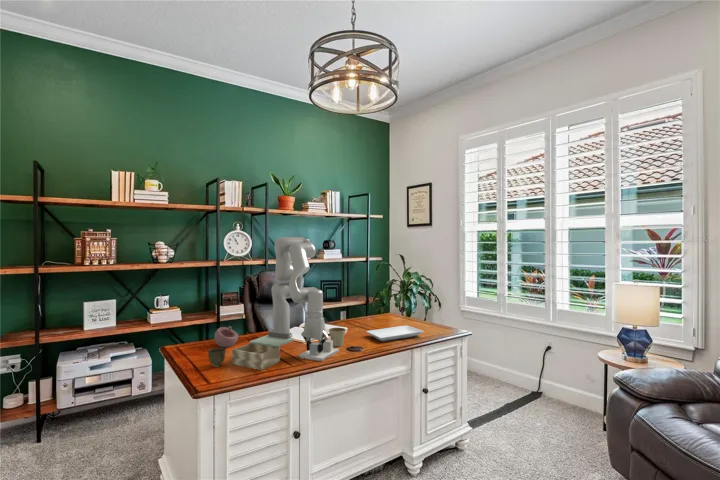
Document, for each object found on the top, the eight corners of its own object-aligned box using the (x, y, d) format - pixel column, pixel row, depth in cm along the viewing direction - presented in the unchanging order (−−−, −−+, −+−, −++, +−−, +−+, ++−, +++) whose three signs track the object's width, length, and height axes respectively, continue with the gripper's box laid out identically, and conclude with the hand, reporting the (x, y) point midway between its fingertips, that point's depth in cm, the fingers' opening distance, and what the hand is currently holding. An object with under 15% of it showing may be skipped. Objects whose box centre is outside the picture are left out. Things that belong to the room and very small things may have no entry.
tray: (424, 336, 221) (424, 330, 222) (380, 343, 206) (380, 337, 206) (407, 330, 236) (407, 325, 236) (365, 336, 221) (365, 330, 221)
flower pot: (343, 348, 196) (343, 332, 196) (326, 347, 198) (326, 331, 198) (347, 343, 205) (347, 327, 205) (331, 342, 207) (331, 327, 207)
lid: (249, 343, 180) (249, 336, 180) (266, 336, 191) (266, 330, 191) (277, 347, 173) (277, 340, 173) (294, 340, 184) (294, 333, 184)
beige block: (323, 351, 187) (323, 341, 187) (325, 349, 191) (325, 339, 191) (330, 352, 186) (330, 342, 186) (333, 349, 190) (333, 340, 190)
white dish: (298, 357, 180) (298, 354, 180) (317, 348, 196) (317, 345, 196) (321, 361, 175) (321, 358, 175) (338, 351, 190) (338, 348, 190)
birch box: (232, 365, 169) (232, 349, 169) (251, 357, 181) (251, 342, 181) (261, 370, 162) (261, 354, 162) (279, 361, 174) (279, 346, 174)
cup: (211, 364, 170) (211, 347, 170) (227, 364, 171) (227, 346, 171) (205, 370, 163) (205, 352, 163) (222, 369, 163) (222, 351, 163)
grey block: (309, 354, 182) (309, 344, 182) (314, 352, 185) (313, 342, 185) (316, 355, 180) (316, 345, 180) (320, 353, 184) (320, 343, 184)
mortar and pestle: (230, 351, 191) (231, 329, 191) (209, 350, 193) (209, 328, 193) (242, 344, 202) (242, 323, 202) (222, 343, 205) (222, 323, 205)
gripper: (296, 314, 183) (295, 350, 183) (326, 318, 176) (326, 355, 176) (304, 311, 190) (304, 346, 190) (334, 315, 183) (333, 351, 183)
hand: (314, 350), depth 183 cm, fingers open, 6 cm apart
